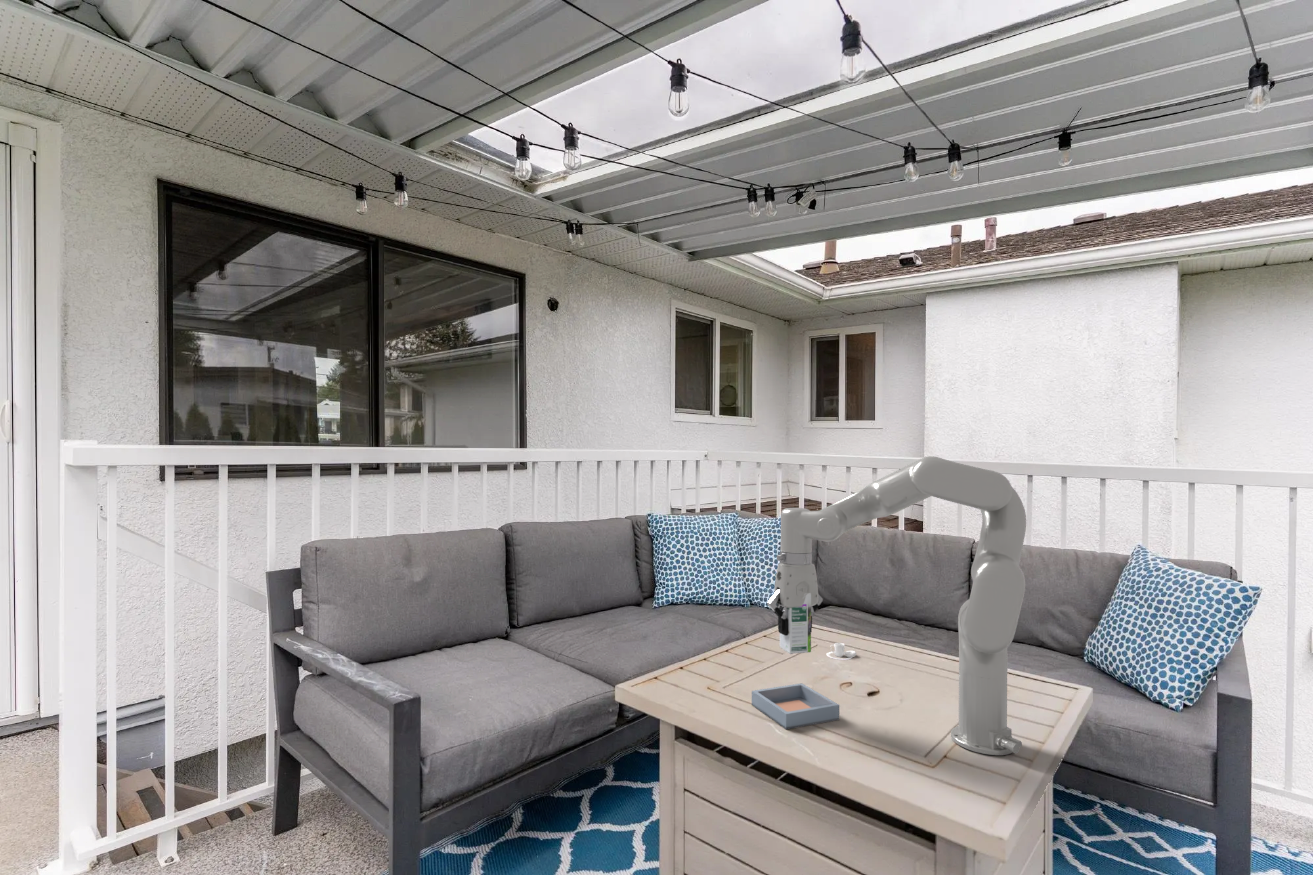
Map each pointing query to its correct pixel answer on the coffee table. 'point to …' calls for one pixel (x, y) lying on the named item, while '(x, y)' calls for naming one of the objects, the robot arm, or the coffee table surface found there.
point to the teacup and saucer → (841, 652)
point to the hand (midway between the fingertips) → (795, 631)
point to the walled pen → (795, 706)
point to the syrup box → (798, 629)
